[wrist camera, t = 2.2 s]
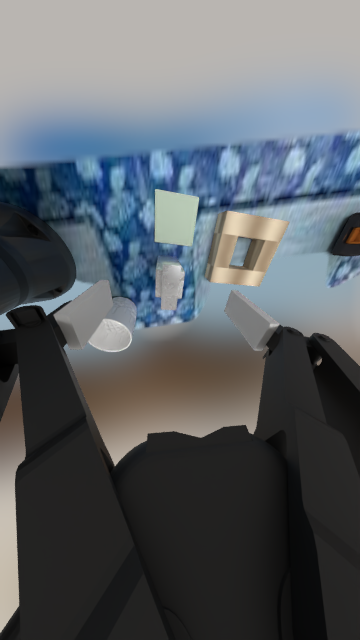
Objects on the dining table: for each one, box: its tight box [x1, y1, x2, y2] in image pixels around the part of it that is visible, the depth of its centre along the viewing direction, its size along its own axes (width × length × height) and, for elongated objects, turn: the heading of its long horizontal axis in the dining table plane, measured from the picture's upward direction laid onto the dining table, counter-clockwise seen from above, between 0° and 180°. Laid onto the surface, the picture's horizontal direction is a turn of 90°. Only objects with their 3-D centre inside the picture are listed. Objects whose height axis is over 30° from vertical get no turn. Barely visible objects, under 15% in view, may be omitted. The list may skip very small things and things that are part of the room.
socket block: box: [205, 211, 289, 286], centre depth 25 cm, size 11×11×4 cm
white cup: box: [88, 297, 137, 352], centre depth 27 cm, size 8×8×10 cm
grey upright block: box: [156, 255, 185, 310], centre depth 21 cm, size 4×6×14 cm, turn 174°
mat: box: [155, 189, 199, 246], centre depth 23 cm, size 7×7×1 cm
